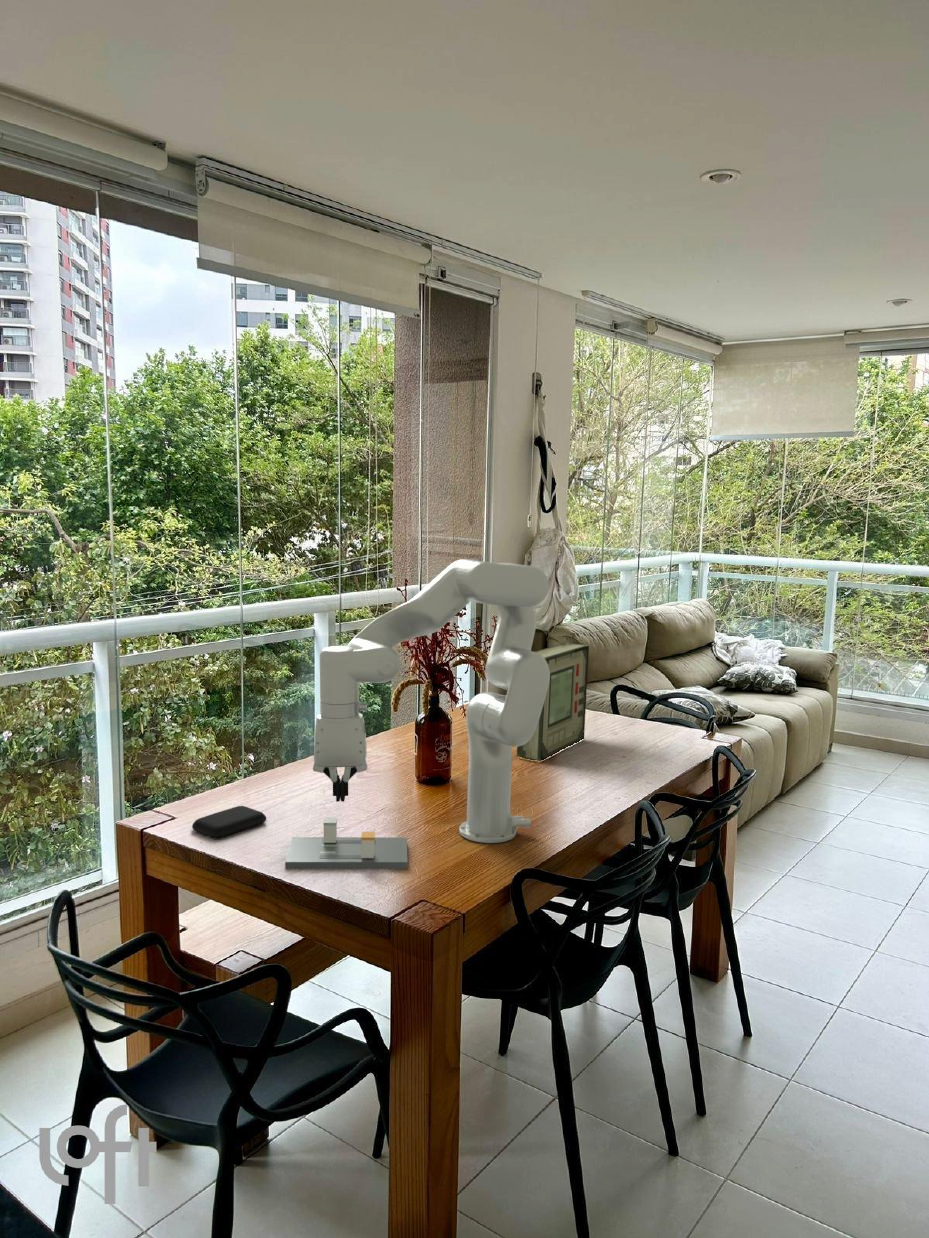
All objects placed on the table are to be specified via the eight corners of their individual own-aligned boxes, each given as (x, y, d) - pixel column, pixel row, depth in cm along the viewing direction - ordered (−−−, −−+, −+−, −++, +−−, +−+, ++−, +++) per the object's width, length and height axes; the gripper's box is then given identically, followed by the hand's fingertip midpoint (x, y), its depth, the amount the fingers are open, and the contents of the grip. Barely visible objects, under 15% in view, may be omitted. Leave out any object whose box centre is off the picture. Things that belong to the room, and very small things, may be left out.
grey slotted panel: (406, 844, 193) (406, 837, 192) (407, 869, 180) (407, 861, 179) (292, 843, 191) (292, 836, 190) (285, 869, 178) (285, 861, 178)
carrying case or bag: (239, 813, 208) (185, 831, 197) (239, 801, 208) (184, 817, 196) (270, 824, 202) (216, 843, 190) (270, 811, 202) (215, 829, 190)
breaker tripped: (374, 851, 183) (374, 831, 182) (374, 858, 180) (374, 837, 179) (361, 851, 183) (361, 831, 182) (360, 858, 180) (361, 837, 179)
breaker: (336, 837, 190) (337, 817, 190) (335, 842, 187) (336, 822, 187) (324, 836, 190) (324, 817, 189) (323, 842, 187) (323, 822, 186)
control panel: (540, 763, 255) (544, 658, 251) (516, 758, 259) (521, 655, 255) (583, 740, 280) (588, 645, 276) (562, 736, 284) (566, 642, 280)
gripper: (378, 704, 181) (378, 792, 184) (303, 705, 180) (304, 793, 183) (377, 713, 174) (378, 805, 176) (299, 714, 173) (300, 806, 175)
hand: (340, 799), depth 180 cm, fingers closed
